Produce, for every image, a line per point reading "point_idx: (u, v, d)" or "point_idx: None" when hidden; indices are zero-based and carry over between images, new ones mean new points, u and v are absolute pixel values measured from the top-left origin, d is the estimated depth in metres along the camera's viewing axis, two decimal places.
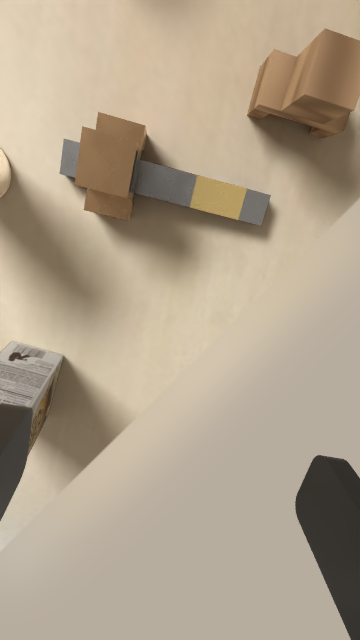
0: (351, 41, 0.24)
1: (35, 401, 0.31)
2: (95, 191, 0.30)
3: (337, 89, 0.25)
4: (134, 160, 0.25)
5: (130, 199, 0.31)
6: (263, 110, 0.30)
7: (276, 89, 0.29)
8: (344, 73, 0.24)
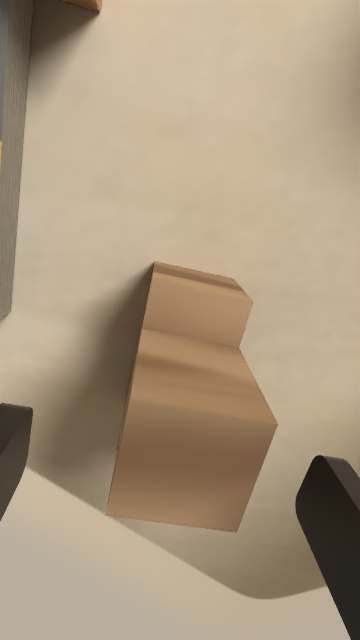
0: (248, 483, 0.10)
1: None
2: None
3: (146, 473, 0.09)
4: None
5: None
6: (149, 291, 0.14)
7: (181, 314, 0.13)
8: (183, 480, 0.10)
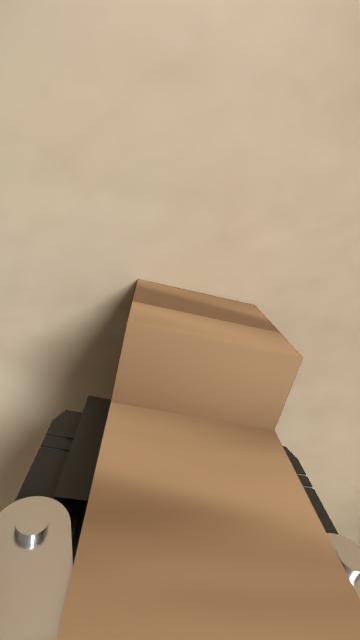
0: None
1: None
2: None
3: None
4: None
5: None
6: None
7: (180, 379, 0.08)
8: None
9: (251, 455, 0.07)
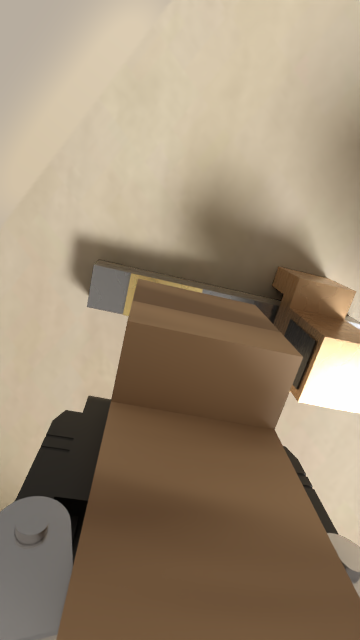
0: None
1: None
2: (335, 314, 0.23)
3: None
4: (304, 380, 0.19)
5: (291, 305, 0.22)
6: None
7: (180, 378, 0.08)
8: None
9: (251, 454, 0.07)
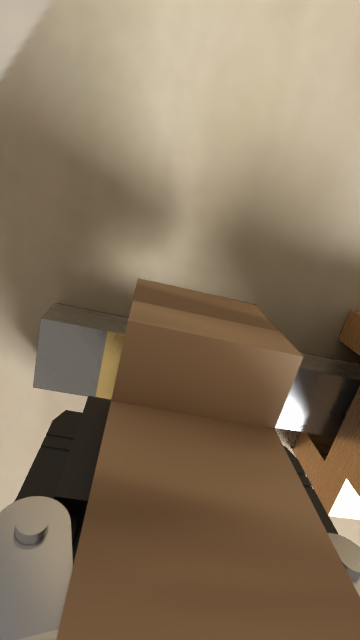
0: None
1: None
2: None
3: None
4: None
5: None
6: None
7: (180, 378, 0.08)
8: None
9: (251, 454, 0.07)
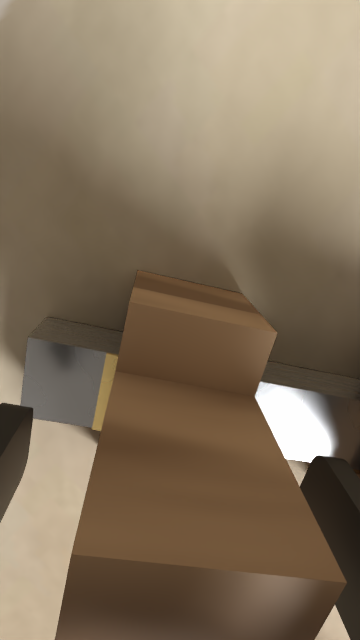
0: None
1: None
2: None
3: None
4: None
5: None
6: None
7: (173, 351, 0.09)
8: None
9: (233, 413, 0.09)
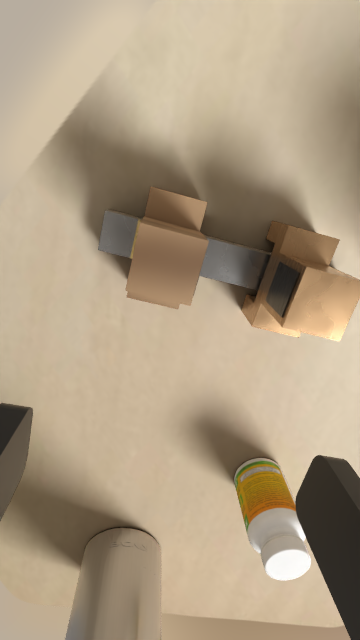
0: (195, 275, 0.20)
1: None
2: (320, 260, 0.25)
3: (146, 266, 0.20)
4: (288, 308, 0.21)
5: (280, 251, 0.25)
6: None
7: (167, 208, 0.23)
8: (163, 271, 0.20)
9: (188, 229, 0.23)
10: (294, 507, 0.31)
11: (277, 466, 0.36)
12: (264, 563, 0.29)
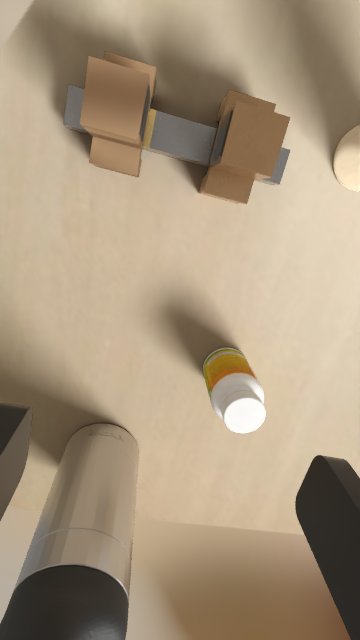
0: (140, 108, 0.23)
1: None
2: None
3: (96, 99, 0.23)
4: (224, 144, 0.24)
5: (224, 115, 0.28)
6: None
7: None
8: (112, 104, 0.23)
9: None
10: (253, 375, 0.34)
11: (241, 354, 0.39)
12: (223, 415, 0.31)
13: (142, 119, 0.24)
